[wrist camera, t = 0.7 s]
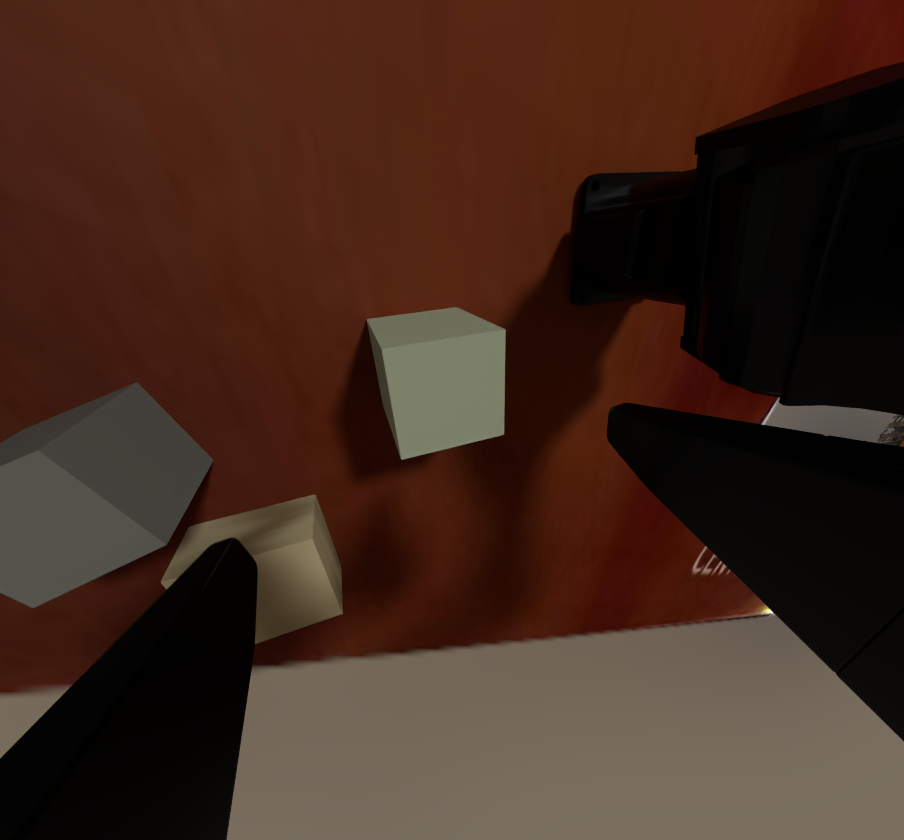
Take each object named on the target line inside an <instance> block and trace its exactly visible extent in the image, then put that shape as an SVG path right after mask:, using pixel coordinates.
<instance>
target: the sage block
mask: <svg viewBox="0 0 904 840" xmlns="http://www.w3.org/2000/svg"><path fill="white" fill-rule="evenodd" d="M366 320H367V325H368V330H369V335H370V341H371V346H372V351H373V356H374V361H375V367H376V372H377V377H378V382H379V387H380V393H381V398H382V403H383V407H384V410H385V413H386V416H387V419H388V422H389V425H390V428H391V431H392V434H393V437H394V440H395V443H396V446H397V449H398V452H399V454H400V457H401V460H403V459H407V458H411V457H415V456H419V455H423V454H427V453H431V452H436V451H440V450H444V449H448V448H452V447H456V446H460V445H464V444H468V443H472V442H476V441H481V440H485V439H489V438H493V437H497V436H501V435H504V406H505V336H506V330H505V329H503V328H501V327H499V326H497V325H494V324H492V323H490V322H488V321H486V320H484V319H481V318H479V317H477V316H475V315H473V314H470V313H468V312H466V311H464V310H462V309H459V308H457V307H456V308H448V309H441V310H433V311H425V312H418V313H410V314H403V315H395V316H387V317H380V318H372V319H366Z"/></svg>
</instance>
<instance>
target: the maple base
mask: <svg viewBox="0 0 904 840" xmlns="http://www.w3.org/2000/svg"><path fill="white" fill-rule="evenodd" d="M228 538H236V539H238V540H239V541H240V542H241V544H242V545H243V546H244V547H245V548H246V550H247V551H248V552H249V553H250V555H251V556H252V557H253V558H254V560H255V561H256V564H257V568H258V583H257V610H256V634H255V644H257V643H260V642H263V641H266V640H268V639H271V638H274V637H277V636H280V635H283V634H286V633H289V632H291V631H294V630H297V629H300V628H303V627H306V626H309V625H312V624H314V623H317V622H320V621H323V620H326V619H329V618H332V617H335V616H337V615H340V614H343V607H342V575H341V564H340V561H339V558H338V556H337V553H336V550H335V547H334V545H333V542H332V539H331V536H330V534H329V531H328V528H327V525H326V523H325V520H324V517H323V514H322V512H321V509H320V506H319V503H318V501H317V498H316V495H311V496H307V497H303V498H299V499H295V500H291V501H287V502H283V503H279V504H275V505H272V506H268V507H264V508H260V509H256V510H252V511H248V512H244V513H240V514H236V515H232V516H228V517H224V518H220V519H216V520H212V521H208V522H205V523H201V524H197V525H193V526H189V528H188V530H187V532H186V533H185V535H184V537H183V539H182V541H181V543H180V545H179V547H178V549H177V551H176V553H175V555H174V557H173V559H172V561H171V563H170V565H169V567H168V569H167V571H166V572H165V574H164V576H163V578H162V580H161V583H162V585H163V586H164V587H165V588H166V590H167V589H168V588H169V587H170V586H171V585H172V584H173V583H174V582H175V580H176V579H177V578H178V577H179V576H180V575H181V574H182V573H183V572H184V571H185V570H186V569H187V568H188V567H189V566H190V565H191V564H192V563H193V562H194V561H195V560H196V559H197V558H198V557H199V556H200V555H201V554H202V553H203V552H204V551H205V550H206V549H207V548H208V547H209V546H210V545H212V544H214V543H216V542H219V541H222V540H225V539H228Z"/></svg>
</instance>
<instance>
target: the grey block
mask: <svg viewBox="0 0 904 840" xmlns="http://www.w3.org/2000/svg"><path fill="white" fill-rule="evenodd" d="M213 461H214V460H213V459H212V458H211V457H210V456H209V455H208V454H207V453H206V452H205V451H204V450H203V449H202V448H201V447H200V446H199V445H198V444H197V443H196V442H195V441H194V440H193V439H192V438H191V437H190V436H189V435H188V434H187V433H186V432H185V431H184V430H183V429H182V428H181V427H180V426H179V425H178V424H177V423H176V422H175V420H174V419H173V418H172V417H171V416H170V415H169V414H168V413H167V412H166V411H165V410H164V409H163V408H162V407H161V406H160V405H159V404H158V403H157V402H156V401H155V400H154V399H153V398H152V397H151V396H150V395H149V394H148V393H147V392H146V391H145V390H144V389H143V388H142V387H141V386H140V385H139V384H138V383H134V384H132V385H129V386H127V387H124V388H122V389H120V390H117V391H115V392H112V393H110V394H108V395H105V396H103V397H100V398H98V399H95V400H93V401H91V402H88V403H86V404H83V405H81V406H79V407H76V408H74V409H71V410H69V411H66V412H64V413H62V414H59V415H57V416H54V417H52V418H50V419H47V420H45V421H42V422H40V423H37V424H35V425H33V426H30V427H28V428H25V429H23V430H22V431H20V432H18V433H16V434H15V435H13V436H11V437H10V438H8V439H6V440H5V441H3V442H1V443H0V593H2V594H4V595H6V596H8V597H11V598H13V599H15V600H17V601H19V602H21V603H23V604H26V605H28V606H30V607H32V608H34V607H36V606H39V605H41V604H43V603H45V602H47V601H49V600H51V599H53V598H55V597H58V596H60V595H62V594H64V593H66V592H68V591H70V590H72V589H74V588H77V587H79V586H81V585H83V584H85V583H87V582H89V581H91V580H93V579H96V578H98V577H100V576H102V575H104V574H106V573H108V572H110V571H113V570H115V569H117V568H119V567H121V566H123V565H125V564H127V563H129V562H132V561H134V560H136V559H138V558H140V557H142V556H144V555H146V554H148V553H151V552H153V551H155V550H157V549H159V548H161V547H163V546H165V545H167V543H168V542H169V540H170V538H171V536H172V534H173V533H174V531H175V529H176V527H177V525H178V524H179V522H180V520H181V518H182V516H183V515H184V513H185V511H186V509H187V507H188V506H189V504H190V502H191V500H192V498H193V497H194V495H195V493H196V491H197V489H198V488H199V486H200V484H201V482H202V480H203V479H204V477H205V475H206V473H207V471H208V470H209V468H210V466H211V464H212V462H213Z"/></svg>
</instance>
